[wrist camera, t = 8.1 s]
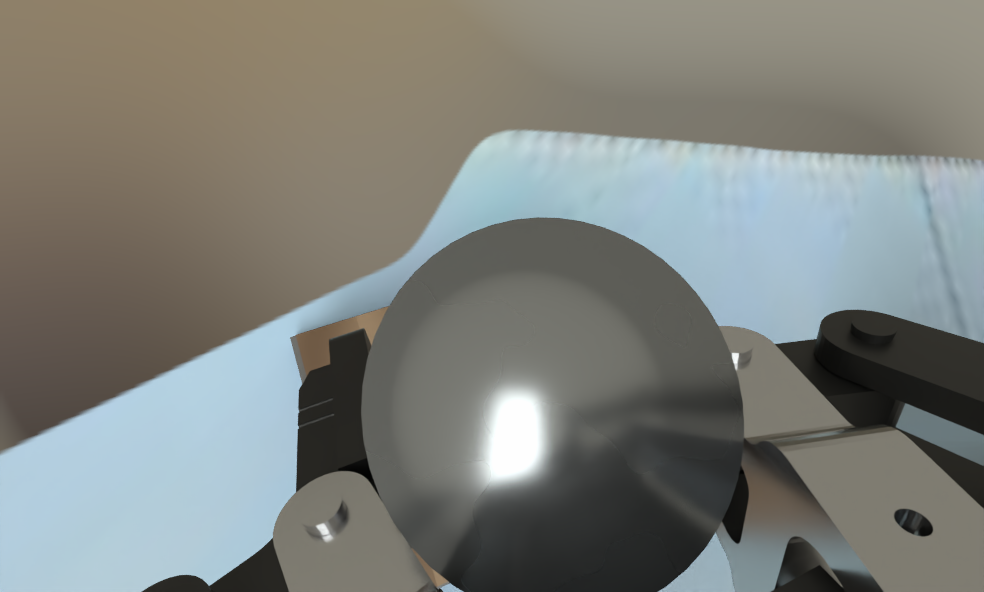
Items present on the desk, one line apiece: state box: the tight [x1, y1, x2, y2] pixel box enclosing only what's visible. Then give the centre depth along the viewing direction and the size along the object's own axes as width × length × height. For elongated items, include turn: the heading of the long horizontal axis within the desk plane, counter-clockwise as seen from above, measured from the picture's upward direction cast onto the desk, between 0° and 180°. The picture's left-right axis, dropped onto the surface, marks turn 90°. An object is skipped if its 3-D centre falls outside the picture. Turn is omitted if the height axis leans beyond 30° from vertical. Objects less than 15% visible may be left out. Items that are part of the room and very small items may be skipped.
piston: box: [361, 218, 744, 592], centre depth 10 cm, size 4×4×9 cm
